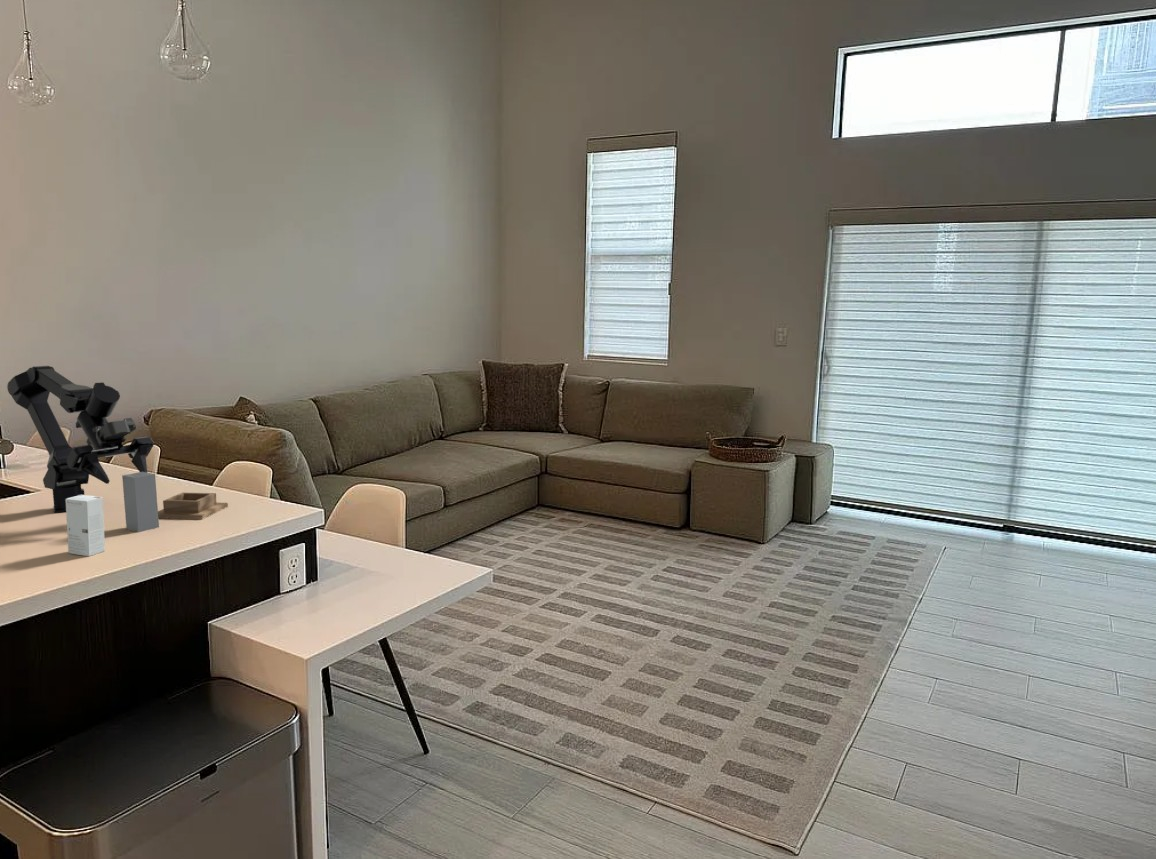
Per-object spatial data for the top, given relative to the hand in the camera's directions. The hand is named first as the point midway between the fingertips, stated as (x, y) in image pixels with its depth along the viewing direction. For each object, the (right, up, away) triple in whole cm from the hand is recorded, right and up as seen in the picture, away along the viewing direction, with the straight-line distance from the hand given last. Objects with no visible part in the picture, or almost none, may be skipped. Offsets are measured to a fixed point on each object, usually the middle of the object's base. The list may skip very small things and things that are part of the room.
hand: (127, 479), depth 193 cm
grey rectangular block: (+4, -12, -1) cm, 12 cm away
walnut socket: (+8, -9, +14) cm, 19 cm away
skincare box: (+2, -15, -20) cm, 25 cm away
